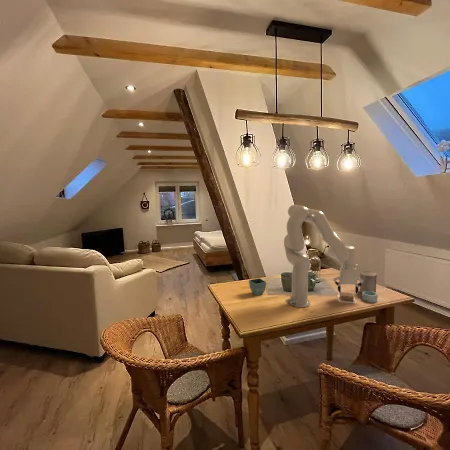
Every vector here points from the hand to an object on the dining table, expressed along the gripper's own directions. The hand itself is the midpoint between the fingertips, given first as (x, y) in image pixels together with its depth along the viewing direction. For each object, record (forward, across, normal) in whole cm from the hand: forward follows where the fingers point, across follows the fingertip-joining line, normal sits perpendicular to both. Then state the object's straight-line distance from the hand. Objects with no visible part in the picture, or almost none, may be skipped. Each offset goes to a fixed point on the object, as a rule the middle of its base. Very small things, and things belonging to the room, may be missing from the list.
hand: (347, 292), depth 176 cm
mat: (+5, +1, 0) cm, 5 cm away
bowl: (+5, -13, -2) cm, 14 cm away
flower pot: (+3, +57, +4) cm, 57 cm away
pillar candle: (+5, -14, -14) cm, 20 cm away
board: (+4, +1, 0) cm, 4 cm away
